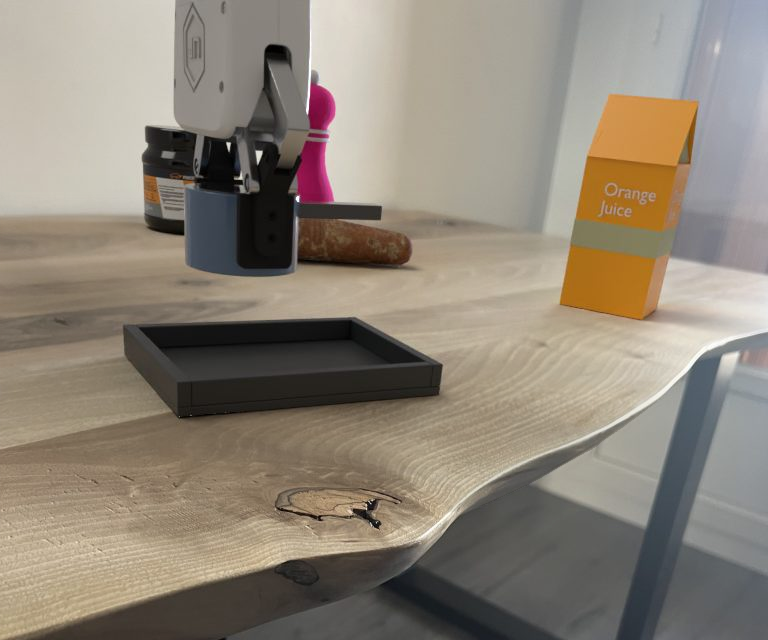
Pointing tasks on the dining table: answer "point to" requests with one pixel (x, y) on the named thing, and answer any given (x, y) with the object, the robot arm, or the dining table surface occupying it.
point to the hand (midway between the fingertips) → (241, 253)
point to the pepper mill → (316, 145)
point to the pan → (219, 226)
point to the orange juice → (629, 205)
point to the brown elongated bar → (351, 243)
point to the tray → (275, 364)
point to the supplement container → (167, 176)
